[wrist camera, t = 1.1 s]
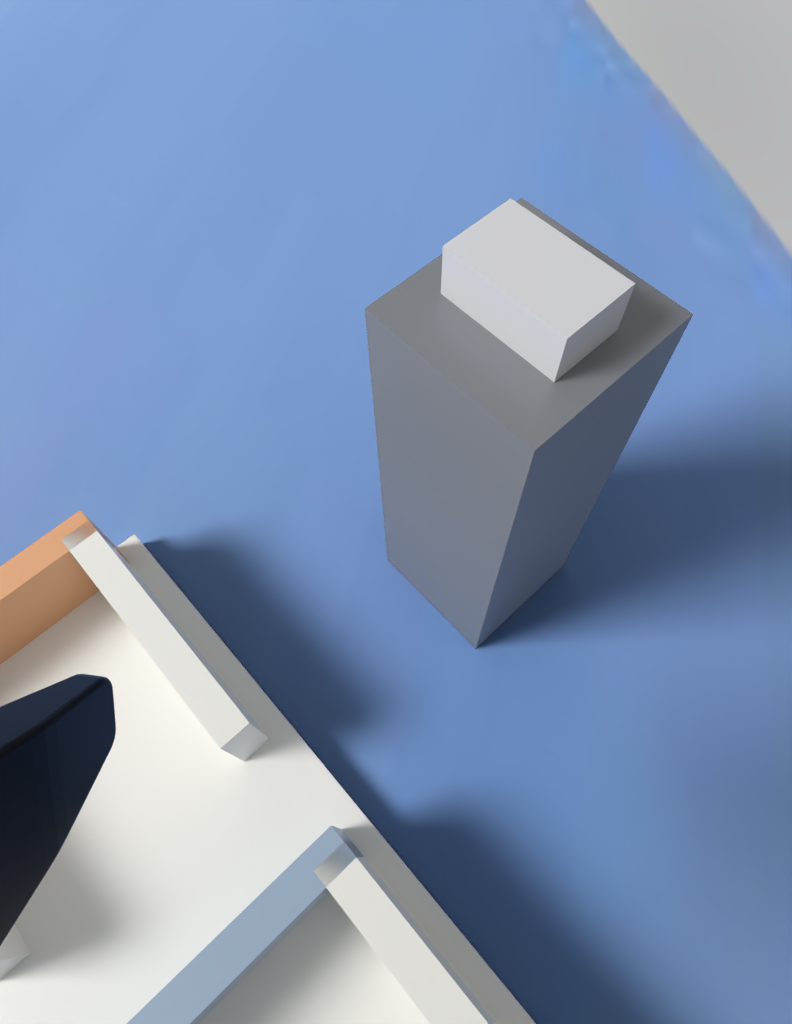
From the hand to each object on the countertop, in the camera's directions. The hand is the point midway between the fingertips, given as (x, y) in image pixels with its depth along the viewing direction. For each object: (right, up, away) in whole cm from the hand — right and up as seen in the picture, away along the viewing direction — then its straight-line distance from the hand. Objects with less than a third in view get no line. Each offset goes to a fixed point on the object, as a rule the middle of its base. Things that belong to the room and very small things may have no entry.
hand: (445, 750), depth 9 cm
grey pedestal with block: (+2, +1, +16) cm, 16 cm away
